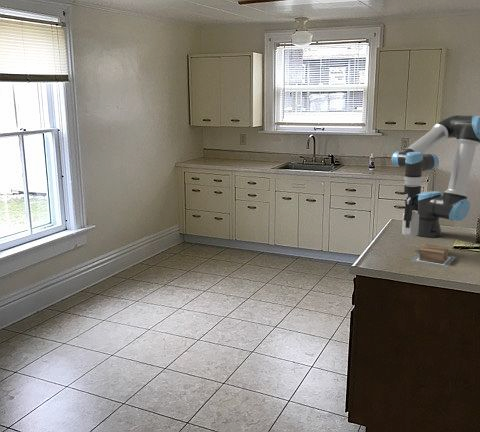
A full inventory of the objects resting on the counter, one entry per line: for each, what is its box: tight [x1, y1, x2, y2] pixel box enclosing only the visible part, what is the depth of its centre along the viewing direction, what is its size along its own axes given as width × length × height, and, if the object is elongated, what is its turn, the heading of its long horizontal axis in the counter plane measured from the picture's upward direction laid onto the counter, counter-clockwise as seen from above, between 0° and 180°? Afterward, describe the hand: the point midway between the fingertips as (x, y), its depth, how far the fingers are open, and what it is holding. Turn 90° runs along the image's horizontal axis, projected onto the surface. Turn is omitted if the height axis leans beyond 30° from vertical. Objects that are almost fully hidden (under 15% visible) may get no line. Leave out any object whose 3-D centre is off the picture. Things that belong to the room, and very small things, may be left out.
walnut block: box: [419, 244, 449, 264], centre depth 238 cm, size 10×10×5 cm
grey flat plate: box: [409, 252, 457, 268], centre depth 239 cm, size 18×16×1 cm
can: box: [401, 210, 419, 238], centre depth 251 cm, size 8×8×12 cm
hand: (410, 231), depth 252 cm, fingers closed on can, 7 cm apart
